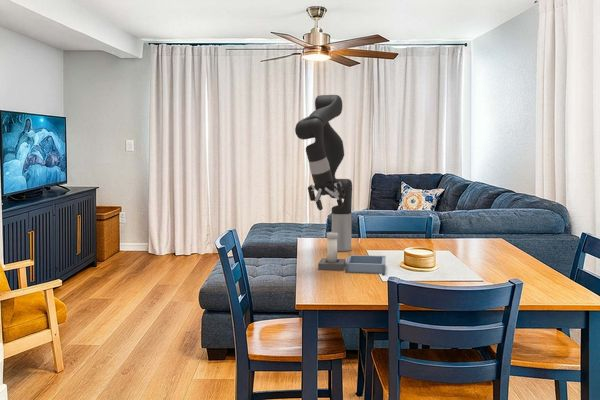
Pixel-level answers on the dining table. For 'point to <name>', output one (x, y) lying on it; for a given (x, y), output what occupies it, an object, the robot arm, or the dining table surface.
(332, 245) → the fuse
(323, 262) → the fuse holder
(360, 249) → the dining table surface
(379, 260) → the parts tray
